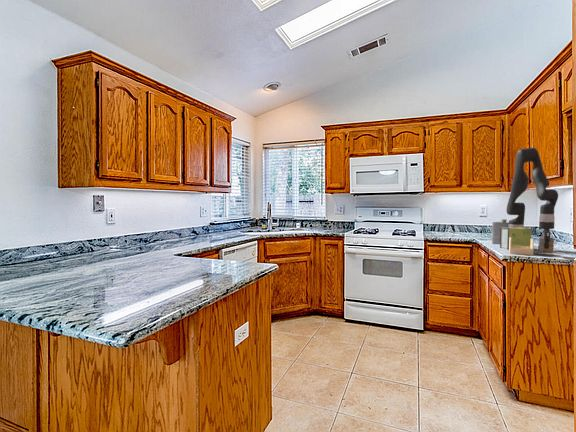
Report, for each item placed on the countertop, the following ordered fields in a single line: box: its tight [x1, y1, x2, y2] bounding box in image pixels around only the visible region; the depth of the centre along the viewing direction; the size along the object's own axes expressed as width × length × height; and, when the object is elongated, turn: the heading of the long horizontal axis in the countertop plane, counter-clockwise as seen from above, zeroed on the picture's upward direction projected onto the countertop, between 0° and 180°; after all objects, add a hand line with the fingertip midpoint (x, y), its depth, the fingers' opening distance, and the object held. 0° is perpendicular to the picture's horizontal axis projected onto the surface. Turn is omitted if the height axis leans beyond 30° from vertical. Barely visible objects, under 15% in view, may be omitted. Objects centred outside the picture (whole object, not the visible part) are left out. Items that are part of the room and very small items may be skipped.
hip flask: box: [491, 218, 509, 245], centre depth 261 cm, size 16×4×20 cm, turn 49°
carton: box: [508, 237, 534, 256], centre depth 215 cm, size 13×12×10 cm
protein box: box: [499, 227, 532, 251], centre depth 233 cm, size 10×15×16 cm
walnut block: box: [537, 237, 555, 254], centre depth 208 cm, size 5×7×9 cm
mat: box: [535, 252, 556, 257], centre depth 208 cm, size 10×9×1 cm
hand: (545, 247), depth 208 cm, fingers closed on walnut block, 5 cm apart
